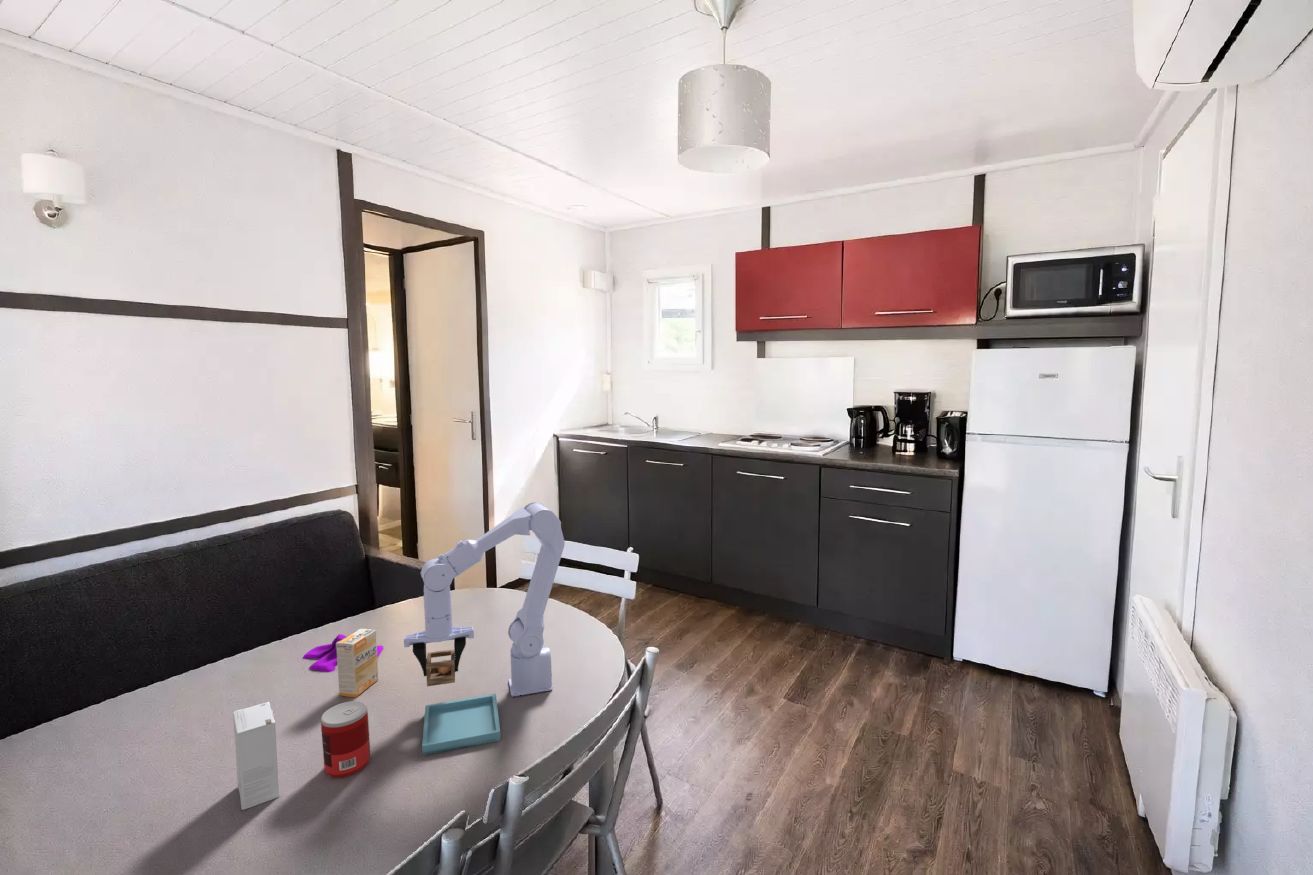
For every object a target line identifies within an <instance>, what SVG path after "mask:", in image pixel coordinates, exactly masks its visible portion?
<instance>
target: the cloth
mask: <svg viewBox="0 0 1313 875" xmlns="http://www.w3.org/2000/svg"><path fill="white" fill-rule="evenodd" d="M345 637H347V635H345V634H342V633H339V634H338V635H336V637H335V638H334V639H333V640H332V642H331V643H327V644H324V645H323V644H322V645H318V646H315V647H313V648H311V649H310V650H308V651H307V652H306V653H305V654H304V655H303V656H302V659H303V660H307V659H309V660H316V661H314V662H313V663H312V664H311V665H310V666H309V667H308V669H309V670H314V671H319V672H324V673H331V672H335V671H336V667H338V664H337V647H336V643H337V642H339V641H340V640H342V639H344V638H345ZM383 650H384V646H383V645H377V659H378V657H379V656H380V654H381V653H382V651H383Z"/></svg>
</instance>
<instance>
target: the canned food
mask: <svg viewBox="0 0 1313 875" xmlns="http://www.w3.org/2000/svg"><path fill="white" fill-rule="evenodd" d="M320 725H321V726H320V727H321V742H322V743H321V744H322V755H323V768H324V770H325V771H324V772H325V773H326V775H327V776H328V777H330V778H334V779H335V778H336V779H340V778H341V779H342V778H346V777H351V776H352V775H355V774H357V773H359V772H360V771H362V770H363V769H365V767H366V766H367V765H368V763H369V762H370V758H371V746H370V745H371V744H370V741H371V740H370V728H369V712H368V705H367V704H366V703H365V702H363V701H359V700H354V701H353V700H351V701H345V702H342V703H339V704H335V705H334V706H332V707H330V708H329V709H327V710H326V711H324V712H323V714H322V715H321V717H320Z"/></svg>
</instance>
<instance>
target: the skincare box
mask: <svg viewBox="0 0 1313 875" xmlns="http://www.w3.org/2000/svg"><path fill="white" fill-rule="evenodd" d="M232 716H233V729H234V745H235V761H236V780H237V783H236V784H237V788H238V791H239V797H240V810H241V811H244V810H247V809H250V808H253V807H255V806H258V805H260V804H263V803H267V802H269V801H272V800H274V799H277V798H279V797H280V783H279V782H280V780H279V764H278V763H279V761H278V747H277V746H278V745H277V729H276V728H277V726H276V721H275V718H274V711H273V709H272V708H271V703H270V701H267V702H262V703H258V704H256V705H252V706H249V707H245V708H242V709H237V710H235V711H233V714H232Z"/></svg>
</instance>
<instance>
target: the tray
mask: <svg viewBox="0 0 1313 875" xmlns="http://www.w3.org/2000/svg"><path fill="white" fill-rule="evenodd" d="M496 694H497V693H491V694H486V695H479V696H473V697H467V698H462V699H456V700H450V701H443V702H437V703H431V704H425V707H424V708H425V709H424V719H423V720H424V722H423V729H422V730H423V732H422V744H421V750H422V753H421V754H422V756H427V755H433V754H438V753H443V752H448V751H453V750H458V749H463V748H469V747H474V746H479V745H484V744H489V743H495V742H500V741H501V728H500V727H501V726H500V718H499V710H498V702H497V695H496Z"/></svg>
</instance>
